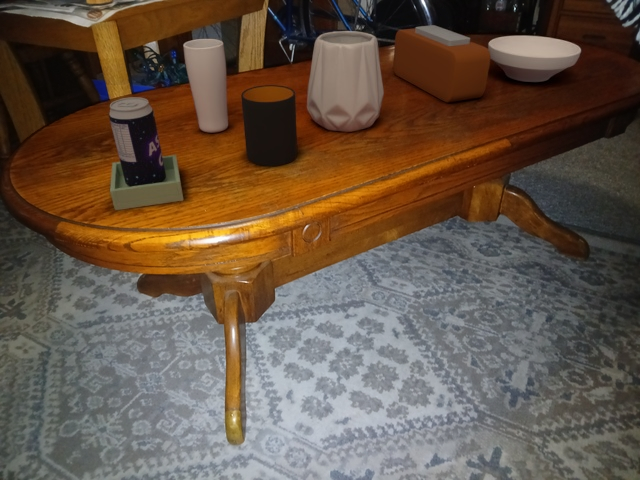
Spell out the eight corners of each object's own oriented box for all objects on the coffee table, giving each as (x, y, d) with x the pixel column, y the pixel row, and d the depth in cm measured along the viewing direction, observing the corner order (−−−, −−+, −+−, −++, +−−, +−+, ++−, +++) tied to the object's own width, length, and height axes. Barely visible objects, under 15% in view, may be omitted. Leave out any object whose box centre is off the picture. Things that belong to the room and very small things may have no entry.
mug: (265, 134, 92) (261, 76, 86) (307, 156, 84) (306, 94, 78) (225, 147, 87) (218, 86, 81) (265, 171, 80) (261, 106, 74)
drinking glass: (234, 121, 97) (225, 38, 89) (231, 134, 92) (221, 48, 83) (197, 122, 97) (185, 38, 88) (192, 136, 91) (179, 48, 83)
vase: (376, 139, 90) (381, 49, 81) (298, 132, 92) (295, 44, 84) (386, 111, 101) (392, 29, 92) (317, 106, 104) (316, 26, 95)
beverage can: (161, 193, 72) (144, 110, 65) (121, 193, 72) (100, 111, 65) (171, 175, 77) (156, 96, 70) (133, 175, 77) (114, 96, 70)
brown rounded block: (484, 100, 106) (494, 42, 100) (449, 105, 103) (458, 47, 97) (422, 69, 124) (427, 19, 118) (391, 73, 122) (395, 22, 115)
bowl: (514, 61, 130) (520, 31, 126) (589, 79, 117) (598, 46, 113) (465, 76, 120) (470, 44, 116) (541, 97, 107) (550, 62, 103)
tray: (115, 210, 70) (109, 191, 68) (116, 180, 77) (112, 162, 76) (183, 200, 72) (180, 181, 71) (179, 172, 80) (175, 154, 78)
